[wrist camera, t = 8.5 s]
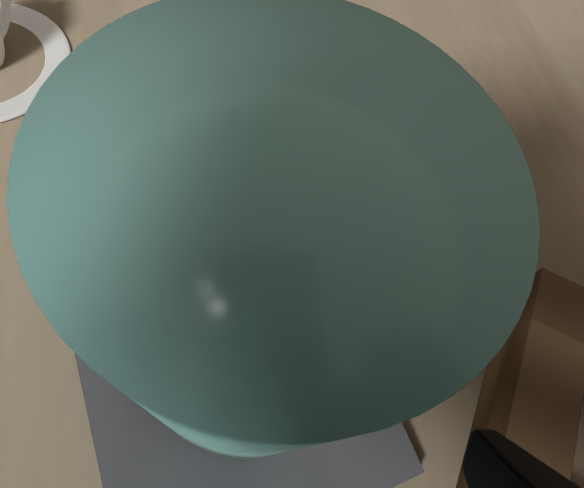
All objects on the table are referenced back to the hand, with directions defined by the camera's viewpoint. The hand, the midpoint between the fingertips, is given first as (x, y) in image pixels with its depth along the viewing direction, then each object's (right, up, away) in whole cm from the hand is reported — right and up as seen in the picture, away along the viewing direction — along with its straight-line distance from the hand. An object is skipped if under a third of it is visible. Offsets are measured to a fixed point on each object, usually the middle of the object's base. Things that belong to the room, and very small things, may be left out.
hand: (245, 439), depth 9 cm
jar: (-1, -1, +8) cm, 8 cm away
